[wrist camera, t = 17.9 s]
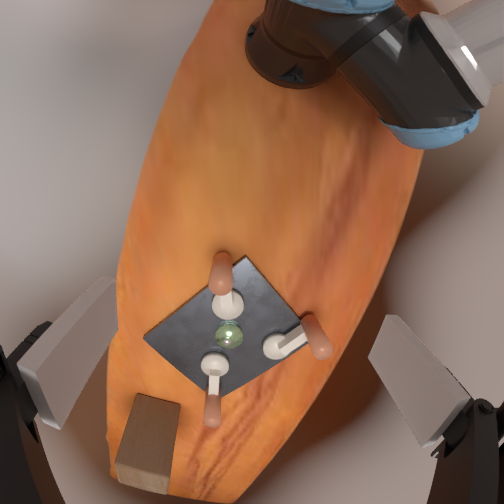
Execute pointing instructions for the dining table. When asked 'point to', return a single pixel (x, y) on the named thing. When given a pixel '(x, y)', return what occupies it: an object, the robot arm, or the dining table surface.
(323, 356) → the knob
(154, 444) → the wooden block
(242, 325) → the base plate
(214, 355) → the knob
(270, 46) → the robot arm
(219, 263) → the knob
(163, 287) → the dining table surface
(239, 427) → the dining table surface
